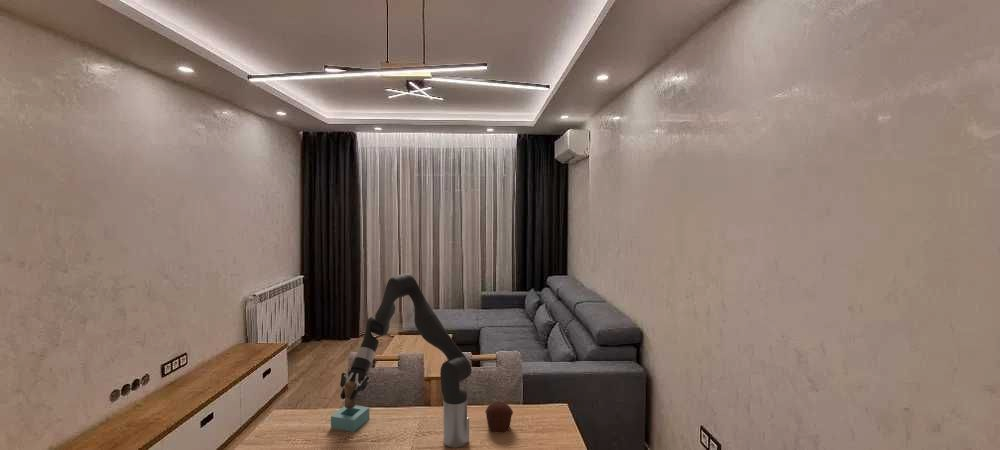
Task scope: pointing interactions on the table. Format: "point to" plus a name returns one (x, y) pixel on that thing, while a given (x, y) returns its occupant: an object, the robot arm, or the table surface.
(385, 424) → the table surface
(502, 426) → the muffin
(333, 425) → the socket block
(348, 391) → the peg
